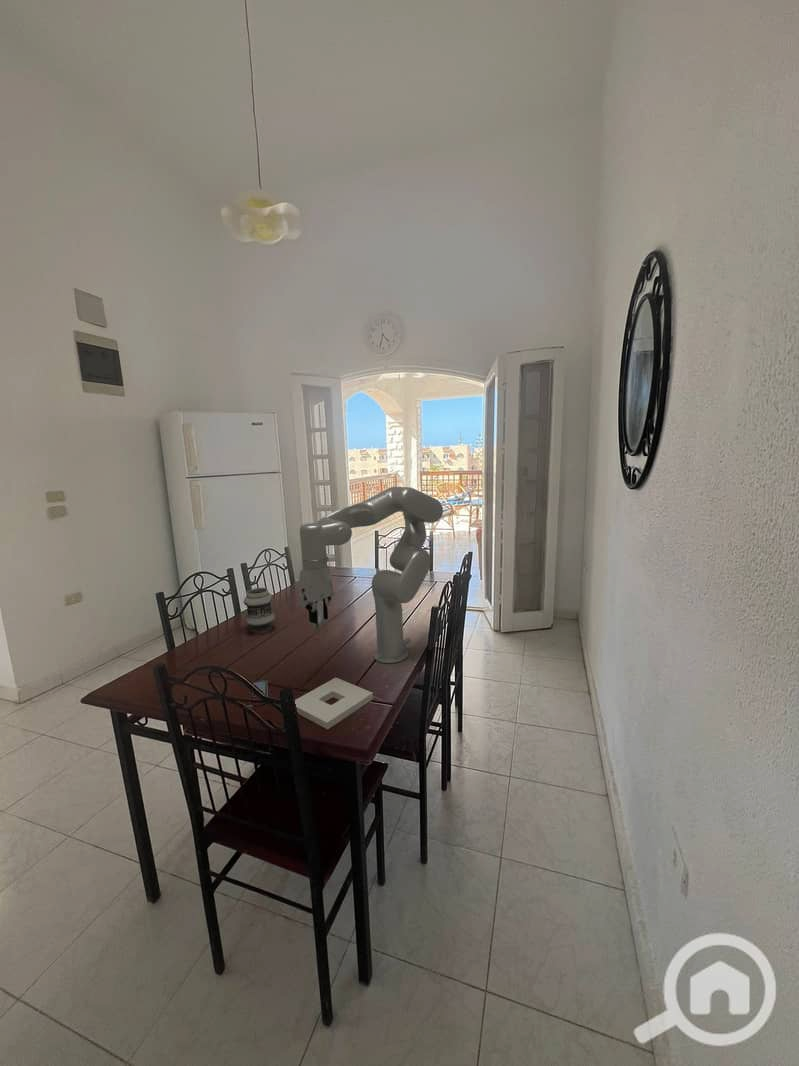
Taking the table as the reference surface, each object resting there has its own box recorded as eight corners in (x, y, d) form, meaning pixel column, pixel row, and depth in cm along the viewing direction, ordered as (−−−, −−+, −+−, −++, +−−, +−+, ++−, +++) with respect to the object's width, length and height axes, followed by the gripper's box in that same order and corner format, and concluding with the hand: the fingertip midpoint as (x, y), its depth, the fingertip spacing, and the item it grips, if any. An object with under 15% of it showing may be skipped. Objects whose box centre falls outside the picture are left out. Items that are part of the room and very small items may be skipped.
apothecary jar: (240, 633, 181) (236, 592, 178) (261, 623, 191) (258, 584, 188) (261, 638, 175) (257, 596, 172) (282, 627, 185) (278, 587, 182)
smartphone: (267, 679, 141) (267, 702, 126) (267, 682, 141) (267, 705, 127) (243, 683, 139) (241, 707, 124) (244, 686, 139) (241, 710, 124)
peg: (320, 622, 138) (317, 589, 136) (329, 625, 135) (327, 591, 133) (308, 627, 135) (306, 592, 133) (318, 630, 132) (315, 595, 130)
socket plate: (336, 683, 137) (335, 677, 137) (373, 699, 127) (372, 692, 127) (290, 709, 123) (289, 703, 123) (327, 729, 114) (327, 722, 113)
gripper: (327, 557, 140) (330, 610, 143) (284, 567, 127) (289, 626, 131) (342, 559, 135) (346, 615, 138) (300, 571, 123) (305, 631, 126)
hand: (318, 620), depth 134 cm, fingers closed on peg, 3 cm apart
